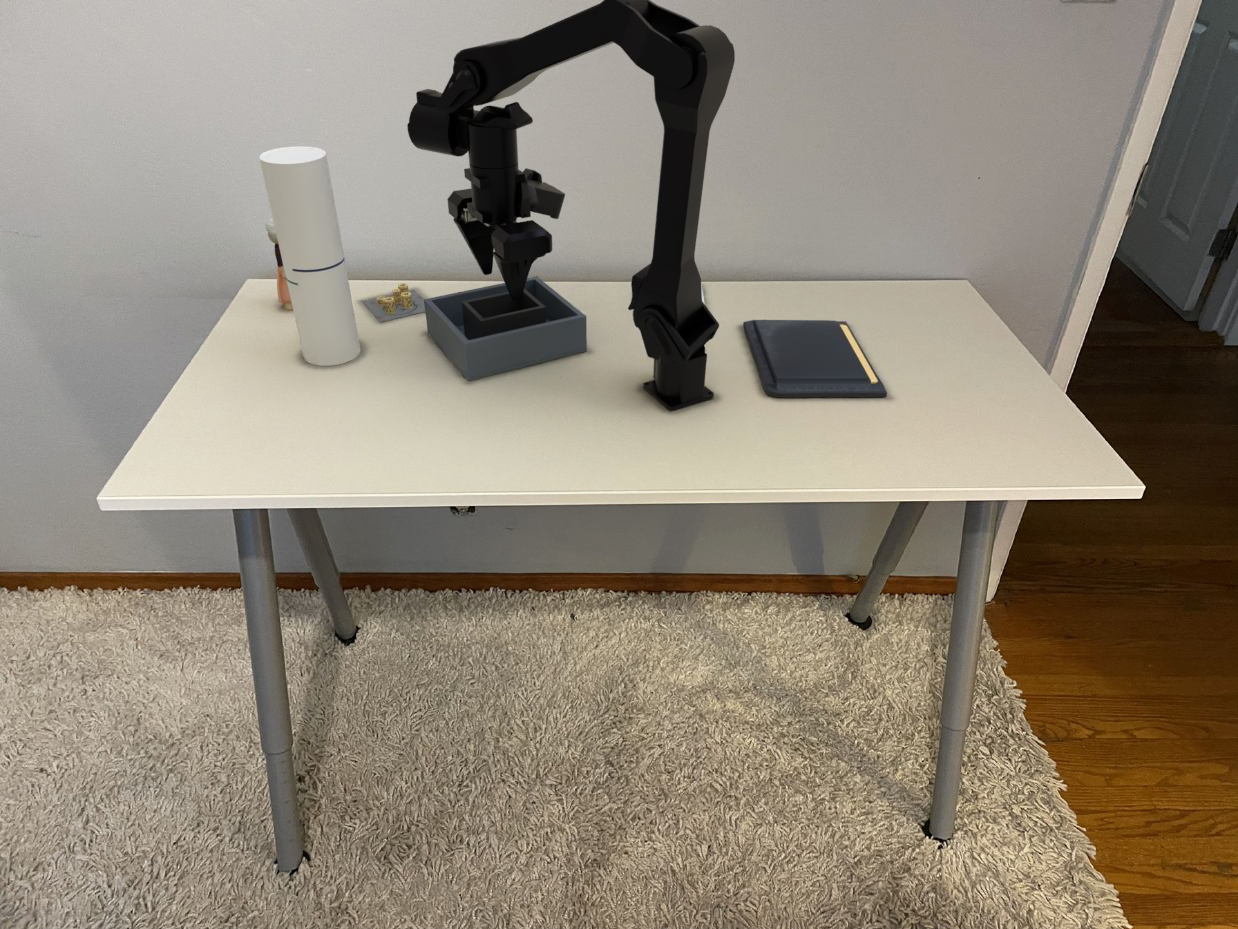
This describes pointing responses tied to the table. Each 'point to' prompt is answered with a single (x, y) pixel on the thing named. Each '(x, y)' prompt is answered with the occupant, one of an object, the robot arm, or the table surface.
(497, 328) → the black bin
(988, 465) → the table surface
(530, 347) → the grey bin
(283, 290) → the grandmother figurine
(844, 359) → the wallet
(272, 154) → the cylindrical container
